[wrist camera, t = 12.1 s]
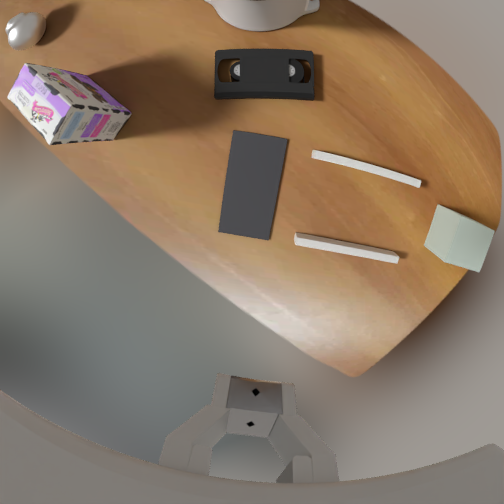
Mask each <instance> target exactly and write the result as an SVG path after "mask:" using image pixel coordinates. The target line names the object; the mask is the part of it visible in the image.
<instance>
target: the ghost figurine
mask: <svg viewBox="0 0 504 504" xmlns="http://www.w3.org/2000/svg"><path fill="white" fill-rule="evenodd" d="M45 29H46V20H45V18H44V16H43V15H42V14H40V13H38V12H30V13H19V14H18V15H17V16H15V17H13V18H12V19H11V20H10V21H9V22H8V24H7V27H6V33H7V34H8V42H9V44H10V46H11V47H12V48H13V49H15V50H26V49H29V48H31V47H32V46H34V45H35V44H36V43H37V42H38V41H39V40H40V39H41V38H42V36H43V34H44V32H45Z"/></svg>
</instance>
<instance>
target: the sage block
mask: <svg viewBox="0 0 504 504" xmlns="http://www.w3.org/2000/svg"><path fill="white" fill-rule="evenodd" d="M494 232H495V231H494V230H492V229H490V228H488V227H487V226H485V225H483V224H481V223H479V222H477V221H475V220H473V219H471V218H469V217H467V216H464V215H462V214H460V213H458V212H455V211H453V210H451V209H448V208H446V207H443V206H441V205H439V204H438V205H437V208H436V211H435V214H434V218H433V221H432V224H431V227H430V230H429V233H428V235H427V238H426V241H425V244H424V246H425V247H426V248H428V249H429V250H430V251H431V252H433V253H434V254H435V255H436V256H438V257H439V258H440V259H441V260H443V261H444V262H446V263H450V264H453V265H456V266H460V267H463V268H467V269H470V270H474V271H477V272H480V269H481V267H482V264H483V262H484V259H485V257H486V254H487V251H488V249H489V246H490V243H491V241H492V238H493V235H494Z"/></svg>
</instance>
